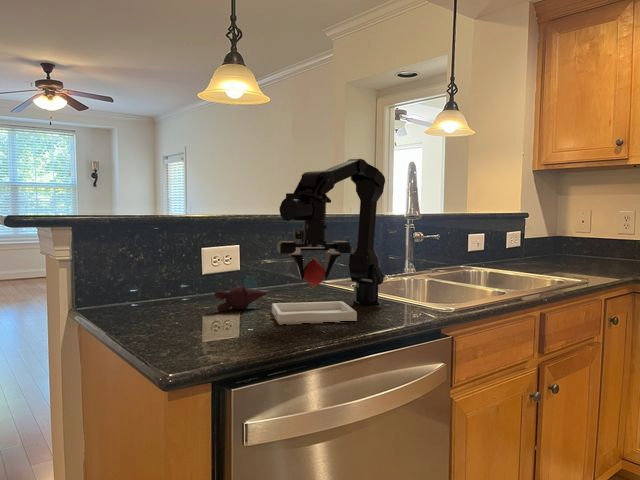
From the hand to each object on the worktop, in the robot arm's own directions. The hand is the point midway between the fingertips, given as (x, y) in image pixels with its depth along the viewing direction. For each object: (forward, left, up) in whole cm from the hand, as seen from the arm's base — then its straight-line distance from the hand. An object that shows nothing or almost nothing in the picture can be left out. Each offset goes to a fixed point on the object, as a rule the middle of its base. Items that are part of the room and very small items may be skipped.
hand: (313, 279), depth 124 cm
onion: (0, 0, -2) cm, 2 cm away
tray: (0, 0, -10) cm, 10 cm away
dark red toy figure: (+18, -12, -10) cm, 24 cm away
